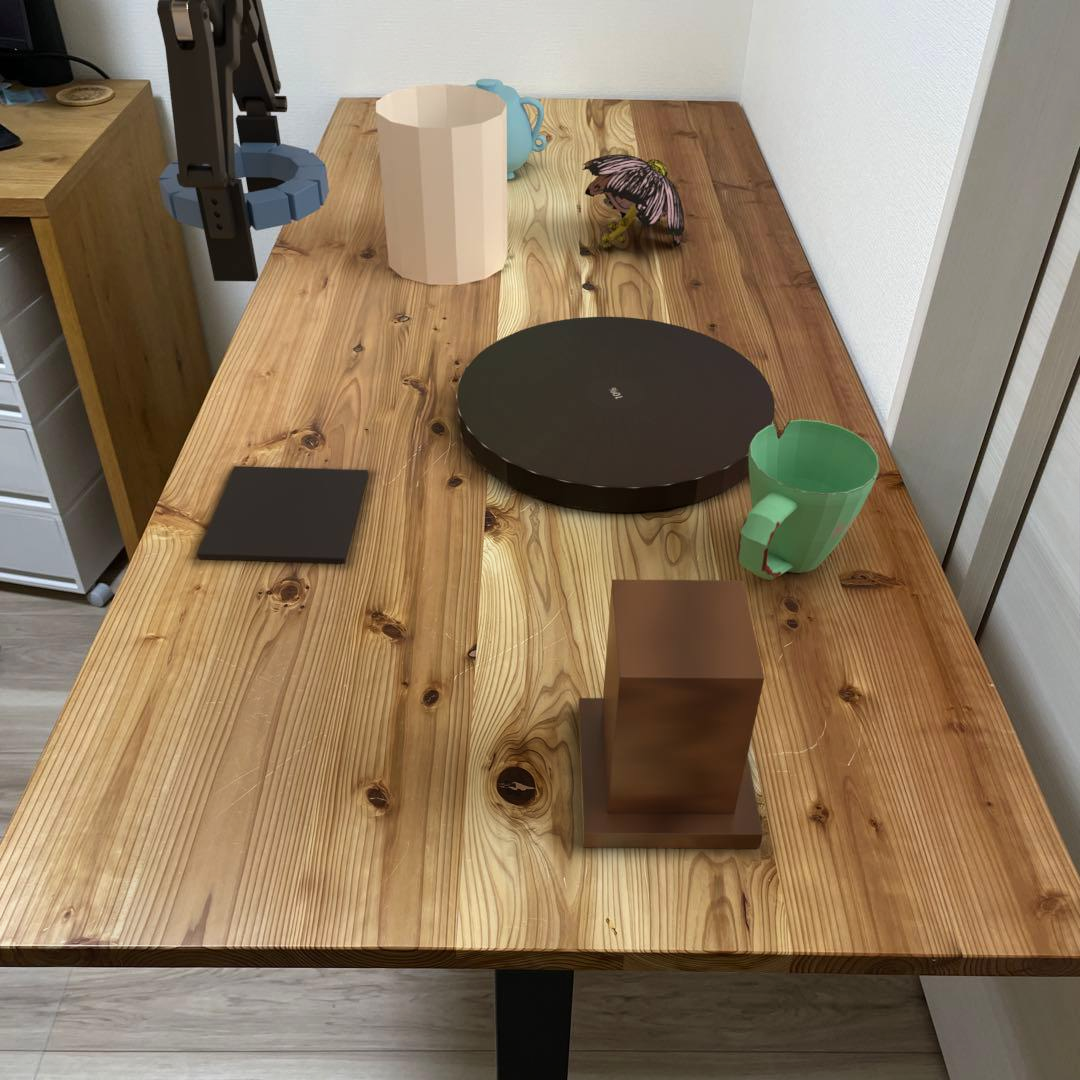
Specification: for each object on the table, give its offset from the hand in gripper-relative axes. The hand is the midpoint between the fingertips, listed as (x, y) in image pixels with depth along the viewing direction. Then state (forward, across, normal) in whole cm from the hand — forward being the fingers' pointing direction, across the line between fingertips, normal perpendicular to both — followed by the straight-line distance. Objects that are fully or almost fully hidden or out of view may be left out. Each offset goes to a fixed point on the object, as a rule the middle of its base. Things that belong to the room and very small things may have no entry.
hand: (254, 241), depth 74 cm
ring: (-3, 0, 0) cm, 3 cm away
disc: (+26, +17, -27) cm, 41 cm away
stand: (+25, -26, -28) cm, 46 cm away
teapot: (+26, +81, -12) cm, 86 cm away
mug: (+26, -5, -40) cm, 47 cm away
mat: (+25, +1, +2) cm, 25 cm away
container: (+26, +51, -8) cm, 58 cm away
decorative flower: (+26, +56, -32) cm, 70 cm away
